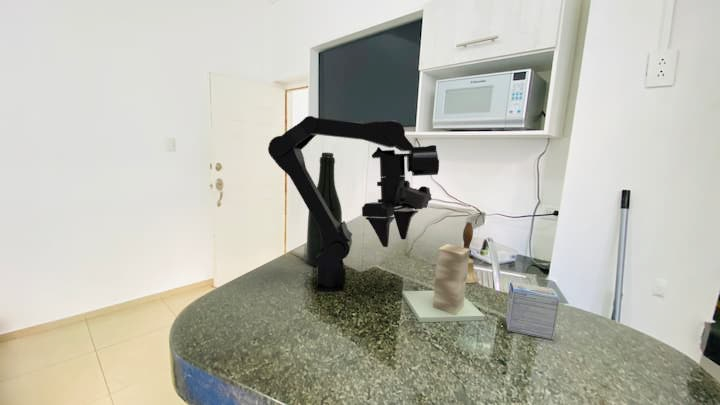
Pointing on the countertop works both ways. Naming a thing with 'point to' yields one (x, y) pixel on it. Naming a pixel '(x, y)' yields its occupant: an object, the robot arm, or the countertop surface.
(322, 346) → the countertop surface
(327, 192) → the beer bottle
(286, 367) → the countertop surface
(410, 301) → the sage board
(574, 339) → the countertop surface
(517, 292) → the medicine box
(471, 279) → the hand bell
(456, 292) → the birch block
